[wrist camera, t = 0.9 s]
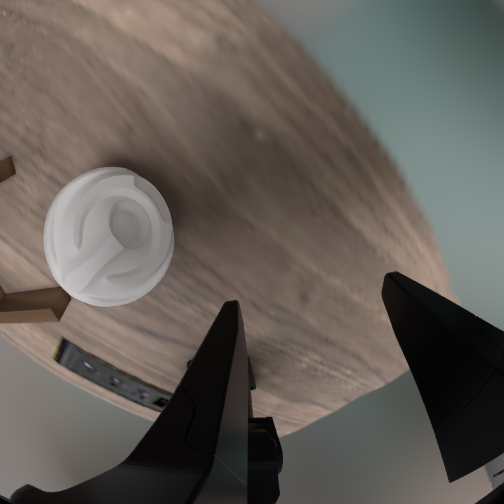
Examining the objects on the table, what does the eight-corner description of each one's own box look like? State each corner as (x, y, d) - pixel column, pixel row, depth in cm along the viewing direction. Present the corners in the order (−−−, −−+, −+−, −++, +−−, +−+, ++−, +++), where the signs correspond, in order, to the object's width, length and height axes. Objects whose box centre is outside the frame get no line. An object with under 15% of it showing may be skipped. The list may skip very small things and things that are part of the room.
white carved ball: (202, 224, 19) (191, 300, 13) (127, 273, 21) (97, 348, 14) (131, 131, 15) (72, 162, 9) (61, 198, 17) (1, 255, 10)
